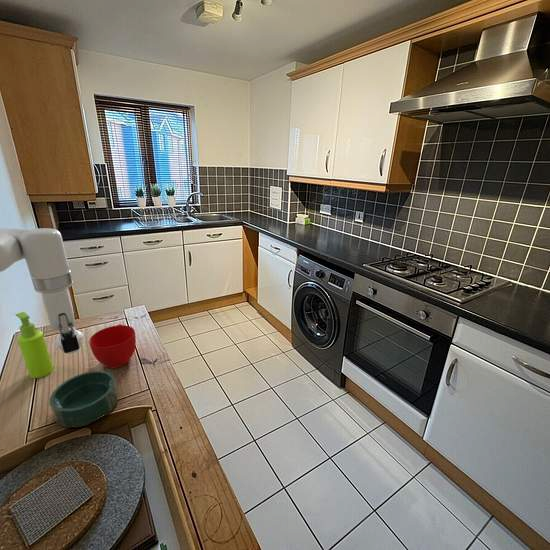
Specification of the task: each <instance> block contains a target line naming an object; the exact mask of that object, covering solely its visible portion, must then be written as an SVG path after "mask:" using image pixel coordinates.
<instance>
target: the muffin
mask: <svg viewBox="0 0 550 550" xmlns="http://www.w3.org/2000/svg"><path fill="white" fill-rule="evenodd" d="M69 330H70V331H71V329H70V328H69ZM73 330H74V334H75V335H76V337H77V341H78V344H79V349H78V350H75V351H72V352H69V353H66V354H68V355H69V354H75V353H76V352H78V351H80V349H81V346H82V344H83V341H84V334H83V332H82V331H79V330H78V329H76V327H73ZM62 332H63V330H62ZM54 344H55V346H56V347H57V348H58V349H59V350H61V351H62V352H64V350H63V346H62V343H61V335H60V331H59V330H58V335H57V336H56V338H55V339H54Z"/></svg>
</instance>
